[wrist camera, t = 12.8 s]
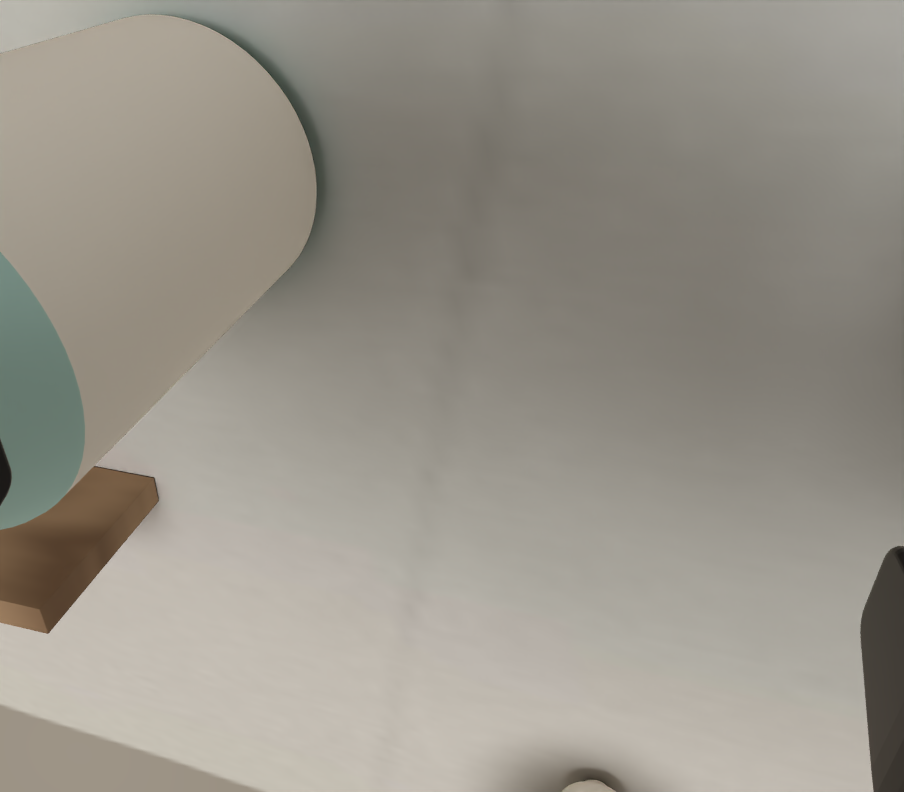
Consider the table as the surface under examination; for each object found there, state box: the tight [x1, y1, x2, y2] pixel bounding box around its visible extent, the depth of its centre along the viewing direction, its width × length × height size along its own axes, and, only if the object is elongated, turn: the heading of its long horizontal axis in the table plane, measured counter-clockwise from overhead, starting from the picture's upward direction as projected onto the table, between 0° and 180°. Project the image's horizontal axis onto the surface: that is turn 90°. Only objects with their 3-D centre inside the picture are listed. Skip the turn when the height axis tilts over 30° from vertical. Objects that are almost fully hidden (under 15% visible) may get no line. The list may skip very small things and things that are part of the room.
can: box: [0, 14, 317, 530], centre depth 17 cm, size 7×7×12 cm
